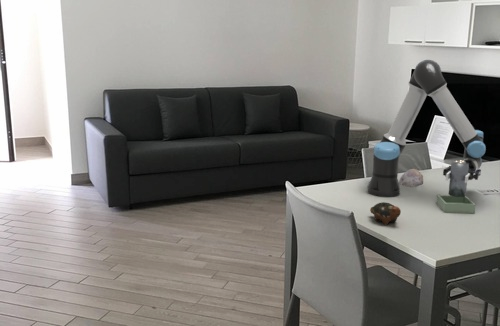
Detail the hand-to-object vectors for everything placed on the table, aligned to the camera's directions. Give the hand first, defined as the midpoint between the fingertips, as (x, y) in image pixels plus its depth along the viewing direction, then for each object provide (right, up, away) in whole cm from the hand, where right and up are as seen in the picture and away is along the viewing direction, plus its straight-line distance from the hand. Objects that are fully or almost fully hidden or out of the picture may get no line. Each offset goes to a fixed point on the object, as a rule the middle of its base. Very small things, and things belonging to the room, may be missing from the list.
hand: (456, 178), depth 225 cm
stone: (-5, -4, +48) cm, 48 cm away
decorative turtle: (-33, -17, -10) cm, 39 cm away
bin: (+2, -13, +8) cm, 15 cm away
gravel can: (+3, -7, +6) cm, 10 cm away
